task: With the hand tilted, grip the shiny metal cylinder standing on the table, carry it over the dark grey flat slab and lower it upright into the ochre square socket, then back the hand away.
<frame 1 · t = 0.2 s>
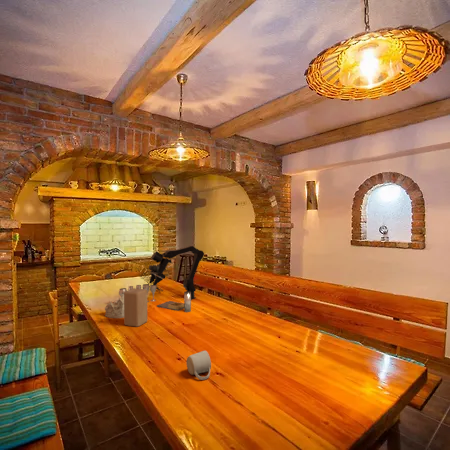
hand: (151, 284, 214), 15 cm above the table, tool tilted 35°, fingers open, 9 cm apart
dried plant: (145, 293, 247), on the table
dark grey flat slab: (173, 306, 209), on the table
ceramic cottage: (120, 314, 191), on the table
ceramic mug: (200, 374, 116), on the table
shiny metal cylinder: (187, 311, 197), on the table
goblet set: (138, 303, 218), on the table
wooden block: (136, 324, 173), on the table
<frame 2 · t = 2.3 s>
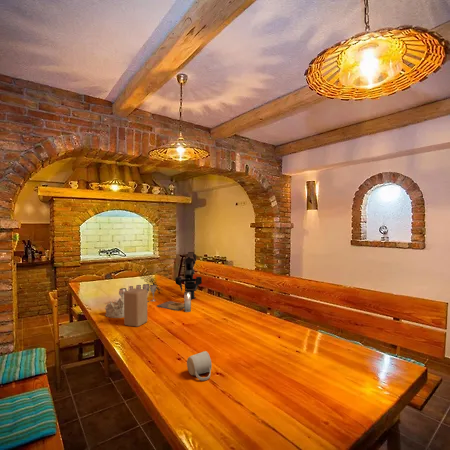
hand: (188, 290, 203), 12 cm above the table, tool tilted 45°, fingers open, 9 cm apart
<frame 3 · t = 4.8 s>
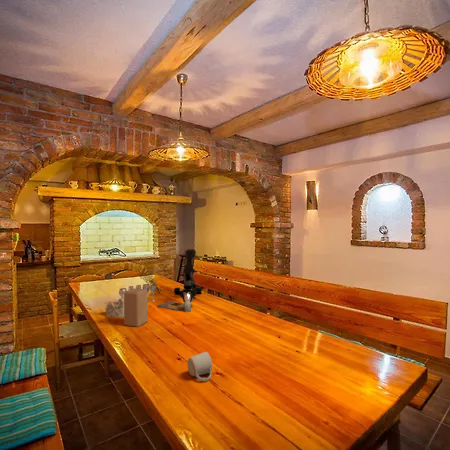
hand: (187, 302, 196), 7 cm above the table, tool tilted 45°, fingers closed on shiny metal cylinder, 4 cm apart
shiny metal cylinder: (187, 311, 197), on the table, touching gripper
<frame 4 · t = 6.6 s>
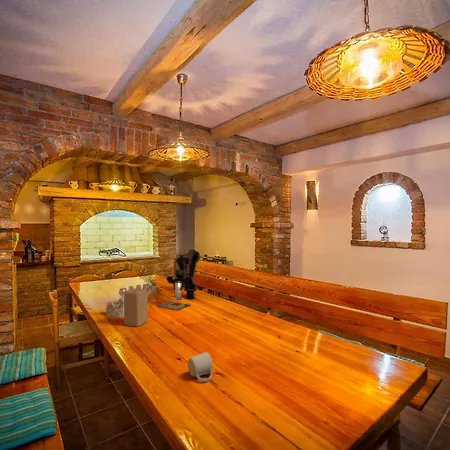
hand: (177, 290, 201), 13 cm above the table, tool tilted 45°, fingers closed on shiny metal cylinder, 4 cm apart
shiny metal cylinder: (178, 299, 202), point 7 cm above the table, touching gripper
when the fingers open (8 cm above the table, at t = 8.5 s): shiny metal cylinder stays where it is, resting on dark grey flat slab.
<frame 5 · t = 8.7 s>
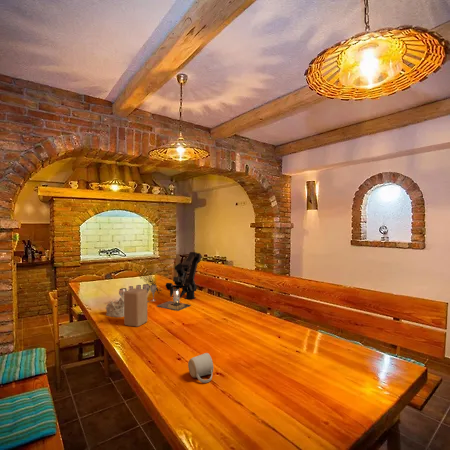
hand: (175, 297, 202), 8 cm above the table, tool tilted 45°, fingers open, 7 cm apart
shiny metal cylinder: (176, 307, 204), point 1 cm above the table, touching dark grey flat slab
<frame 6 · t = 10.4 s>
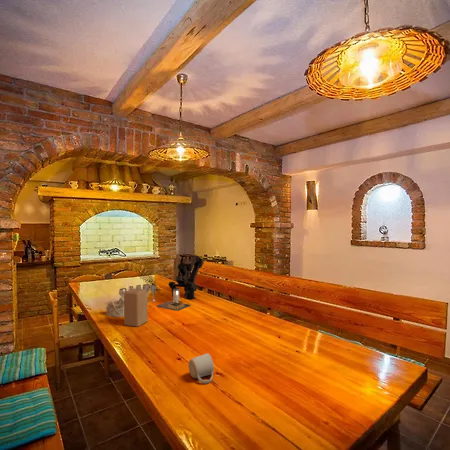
hand: (178, 295, 207), 8 cm above the table, tool tilted 45°, fingers open, 9 cm apart
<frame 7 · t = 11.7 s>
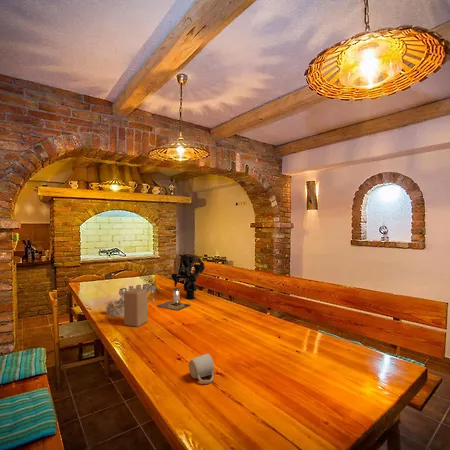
hand: (180, 286, 211), 13 cm above the table, tool tilted 45°, fingers open, 9 cm apart
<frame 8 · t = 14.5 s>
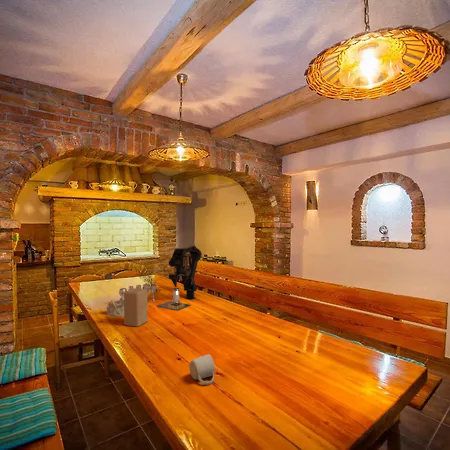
hand: (179, 285, 216), 13 cm above the table, tool pointing down, fingers open, 9 cm apart
at the end: shiny metal cylinder 0.1 cm from the target spot on the dark grey flat slab, point 0.9 cm above the dark grey flat slab's base; shiny metal cylinder tilted 2°; the gripper is holding nothing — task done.
